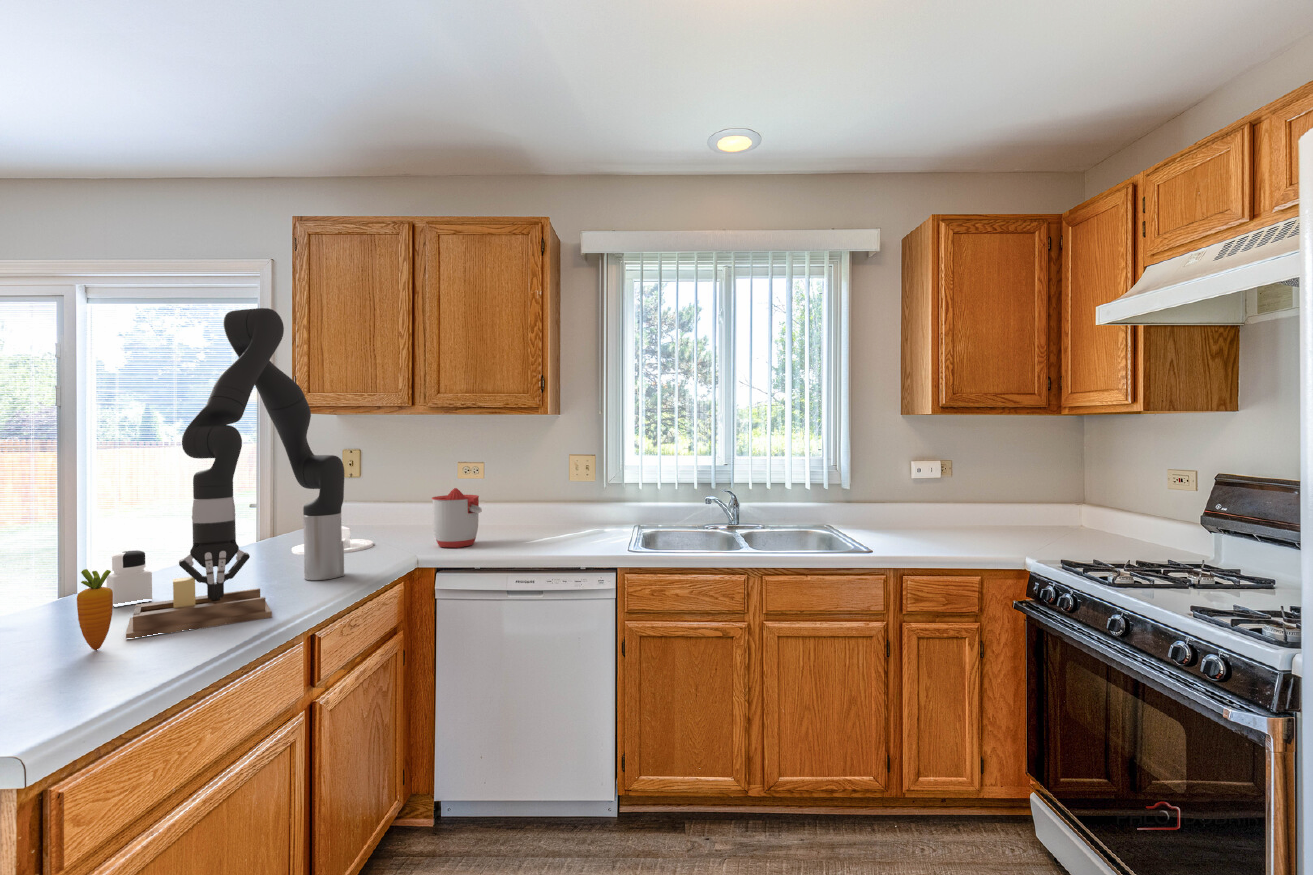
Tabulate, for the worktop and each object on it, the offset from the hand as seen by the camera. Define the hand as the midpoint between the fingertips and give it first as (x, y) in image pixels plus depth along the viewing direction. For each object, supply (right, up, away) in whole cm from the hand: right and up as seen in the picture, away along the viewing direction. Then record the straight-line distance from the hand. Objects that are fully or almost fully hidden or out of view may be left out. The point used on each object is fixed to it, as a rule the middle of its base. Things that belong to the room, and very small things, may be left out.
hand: (215, 600), depth 137 cm
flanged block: (-4, -3, -3) cm, 6 cm away
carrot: (-8, -4, -20) cm, 22 cm away
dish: (-17, -4, +84) cm, 86 cm away
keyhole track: (-2, -4, -1) cm, 5 cm away
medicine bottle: (-30, -4, +14) cm, 33 cm away
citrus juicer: (+25, -3, +86) cm, 89 cm away
